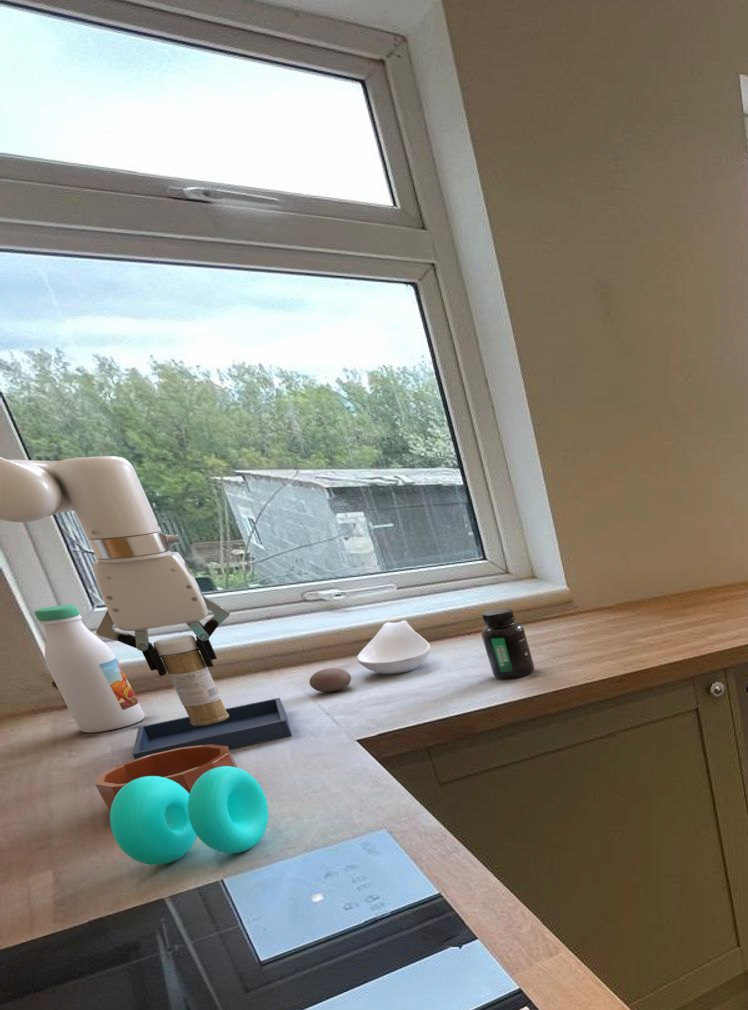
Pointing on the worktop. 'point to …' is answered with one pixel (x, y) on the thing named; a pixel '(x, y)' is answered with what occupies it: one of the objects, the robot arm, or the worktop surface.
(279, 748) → the worktop surface
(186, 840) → the donuts
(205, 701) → the sprinkles bottle
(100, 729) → the milk bottle
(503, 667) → the supplement bottle
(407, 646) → the spoon rest
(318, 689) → the egg
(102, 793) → the bowl
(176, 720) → the tray
